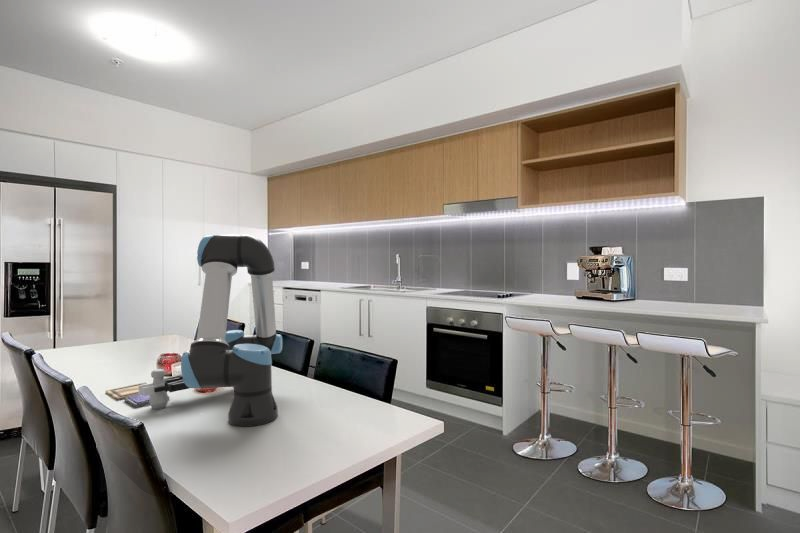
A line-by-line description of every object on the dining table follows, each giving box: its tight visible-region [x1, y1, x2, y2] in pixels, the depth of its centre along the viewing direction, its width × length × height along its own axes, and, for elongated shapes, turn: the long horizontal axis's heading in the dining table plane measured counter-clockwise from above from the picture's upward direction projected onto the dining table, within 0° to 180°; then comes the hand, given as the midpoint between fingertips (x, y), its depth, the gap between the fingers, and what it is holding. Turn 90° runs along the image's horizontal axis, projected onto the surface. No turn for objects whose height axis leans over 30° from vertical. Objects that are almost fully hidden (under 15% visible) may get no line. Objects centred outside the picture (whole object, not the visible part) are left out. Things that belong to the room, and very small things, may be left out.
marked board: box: [105, 382, 149, 401], centre depth 170 cm, size 14×14×1 cm
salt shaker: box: [149, 368, 169, 410], centre depth 152 cm, size 6×6×13 cm
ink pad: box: [124, 393, 170, 409], centre depth 160 cm, size 11×11×2 cm
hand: (141, 390), depth 148 cm, fingers closed on salt shaker, 3 cm apart
